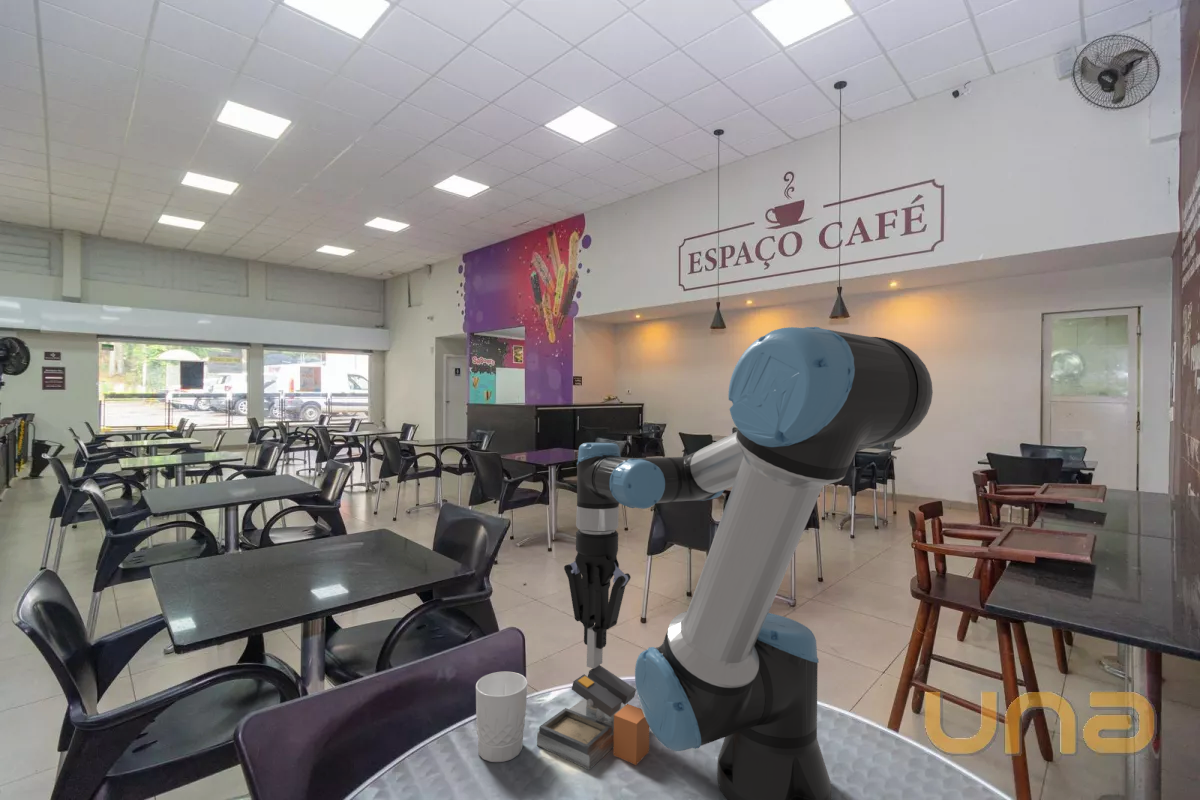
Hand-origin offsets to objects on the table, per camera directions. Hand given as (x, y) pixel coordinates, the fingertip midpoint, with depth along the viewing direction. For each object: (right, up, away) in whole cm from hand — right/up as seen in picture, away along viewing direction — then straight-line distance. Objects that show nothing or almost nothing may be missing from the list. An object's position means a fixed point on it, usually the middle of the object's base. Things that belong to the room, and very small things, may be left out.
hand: (594, 664), depth 93 cm
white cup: (-14, -8, -12) cm, 20 cm away
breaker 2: (+3, -3, -2) cm, 5 cm away
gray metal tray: (-1, -8, -7) cm, 10 cm away
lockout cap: (+6, -8, -12) cm, 15 cm away
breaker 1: (0, -3, -6) cm, 6 cm away
